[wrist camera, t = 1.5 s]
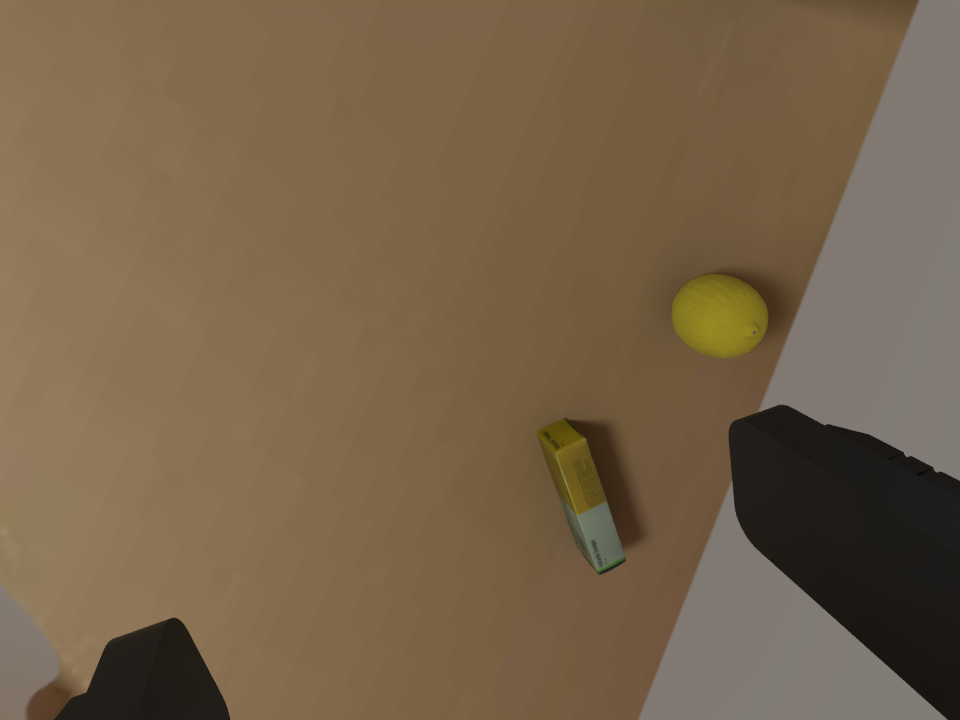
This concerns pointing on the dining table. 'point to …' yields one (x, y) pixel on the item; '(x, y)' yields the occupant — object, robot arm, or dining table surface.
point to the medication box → (581, 495)
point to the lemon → (719, 315)
